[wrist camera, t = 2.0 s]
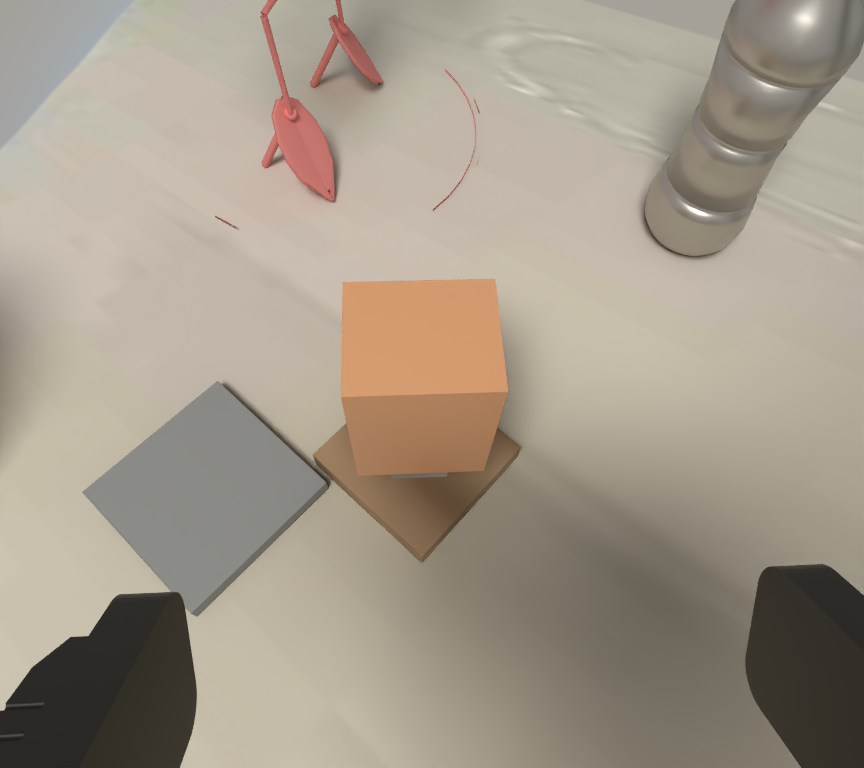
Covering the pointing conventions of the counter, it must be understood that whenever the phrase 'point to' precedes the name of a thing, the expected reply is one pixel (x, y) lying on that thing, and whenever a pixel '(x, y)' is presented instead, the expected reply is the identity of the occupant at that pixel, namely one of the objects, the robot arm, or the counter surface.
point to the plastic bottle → (749, 115)
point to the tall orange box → (422, 374)
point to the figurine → (298, 126)
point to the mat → (206, 495)
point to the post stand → (414, 492)
